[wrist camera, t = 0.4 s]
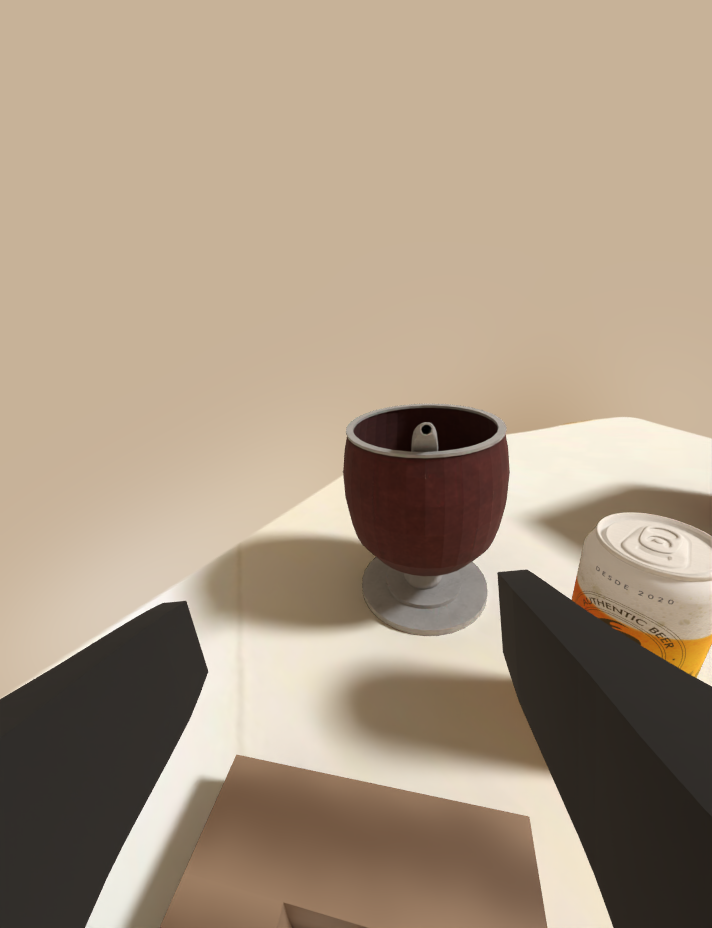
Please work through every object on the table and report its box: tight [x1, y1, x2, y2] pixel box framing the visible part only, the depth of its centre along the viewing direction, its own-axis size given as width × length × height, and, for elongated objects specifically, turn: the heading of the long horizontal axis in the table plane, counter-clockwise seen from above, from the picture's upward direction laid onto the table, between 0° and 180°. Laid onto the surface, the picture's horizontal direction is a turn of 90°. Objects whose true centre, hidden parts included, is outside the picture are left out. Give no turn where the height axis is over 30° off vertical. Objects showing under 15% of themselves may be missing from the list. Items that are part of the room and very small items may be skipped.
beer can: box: [572, 512, 712, 678], centre depth 21 cm, size 6×6×15 cm
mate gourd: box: [343, 404, 509, 636], centre depth 33 cm, size 16×14×20 cm
